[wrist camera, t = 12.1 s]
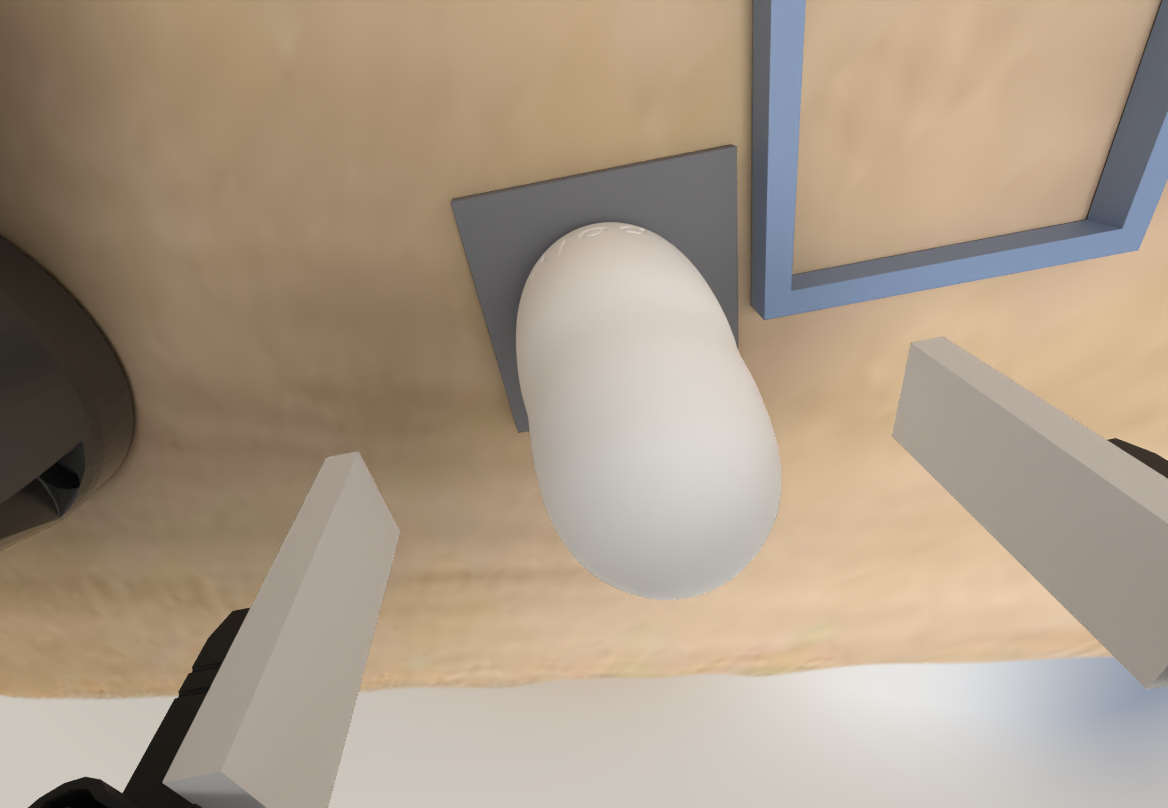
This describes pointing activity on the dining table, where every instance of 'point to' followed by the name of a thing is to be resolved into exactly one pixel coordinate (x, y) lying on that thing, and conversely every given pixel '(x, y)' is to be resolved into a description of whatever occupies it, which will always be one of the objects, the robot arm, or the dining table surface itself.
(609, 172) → the mat
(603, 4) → the dining table surface
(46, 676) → the dining table surface
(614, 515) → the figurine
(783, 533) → the dining table surface
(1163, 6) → the cradle
